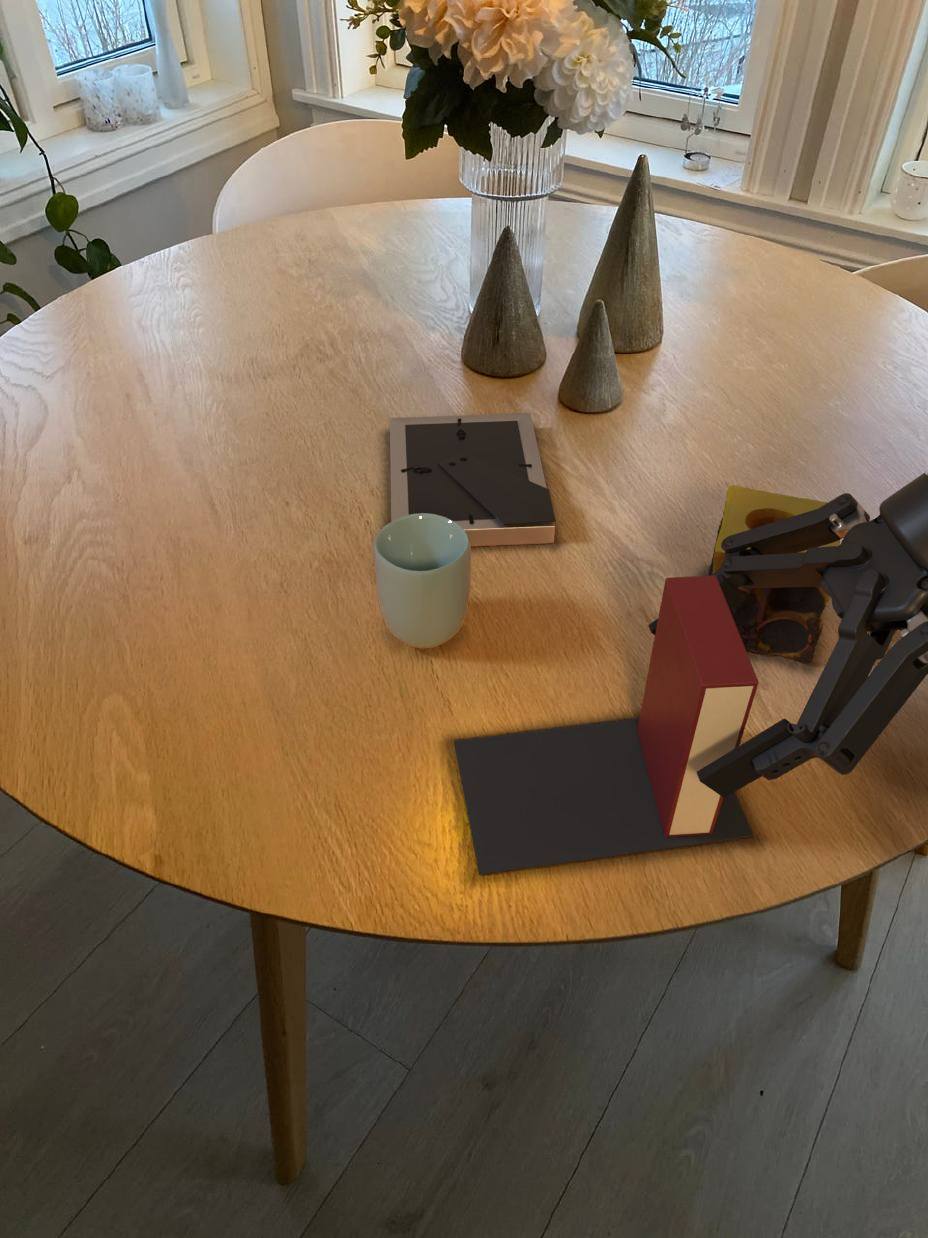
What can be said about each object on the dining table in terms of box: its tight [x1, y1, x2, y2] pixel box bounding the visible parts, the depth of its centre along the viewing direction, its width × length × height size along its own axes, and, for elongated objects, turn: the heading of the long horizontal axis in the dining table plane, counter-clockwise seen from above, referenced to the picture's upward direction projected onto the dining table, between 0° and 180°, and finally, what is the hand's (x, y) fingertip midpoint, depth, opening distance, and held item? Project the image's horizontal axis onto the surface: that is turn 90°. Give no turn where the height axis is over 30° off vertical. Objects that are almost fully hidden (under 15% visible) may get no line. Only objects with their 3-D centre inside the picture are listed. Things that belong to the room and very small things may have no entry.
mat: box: [453, 717, 754, 876], centre depth 72 cm, size 20×12×1 cm, turn 99°
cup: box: [372, 513, 472, 649], centre depth 81 cm, size 8×8×10 cm
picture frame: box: [389, 412, 557, 548], centre depth 100 cm, size 16×3×21 cm
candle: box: [707, 484, 841, 665], centre depth 83 cm, size 10×10×10 cm
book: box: [637, 575, 759, 837], centre depth 67 cm, size 10×4×16 cm, turn 4°
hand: (682, 706), depth 65 cm, fingers open, 13 cm apart
